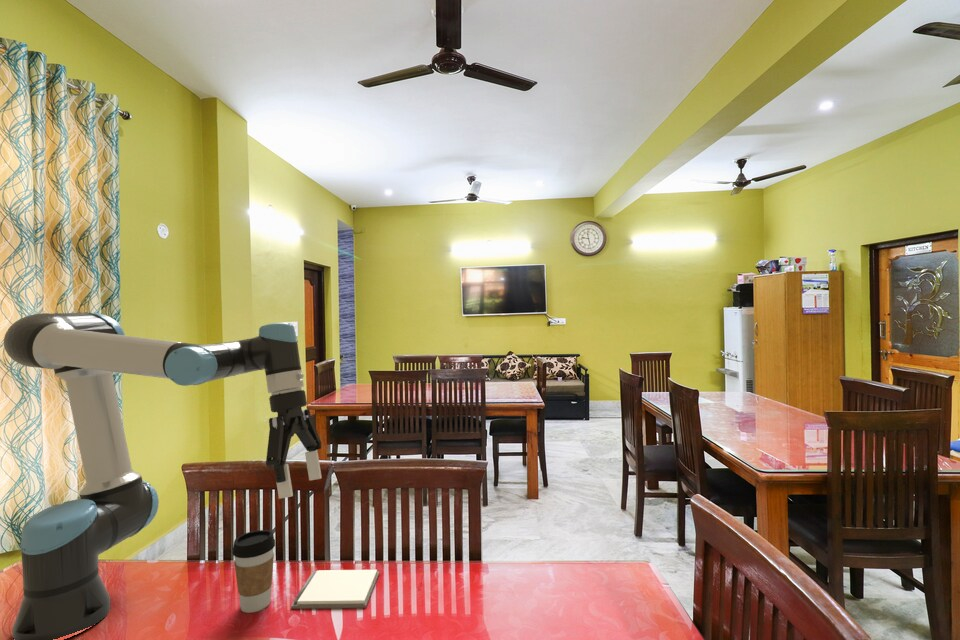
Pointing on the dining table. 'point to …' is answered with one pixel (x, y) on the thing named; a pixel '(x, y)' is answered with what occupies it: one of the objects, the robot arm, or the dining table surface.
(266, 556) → the coffee cup
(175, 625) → the dining table surface
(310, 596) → the notepad
